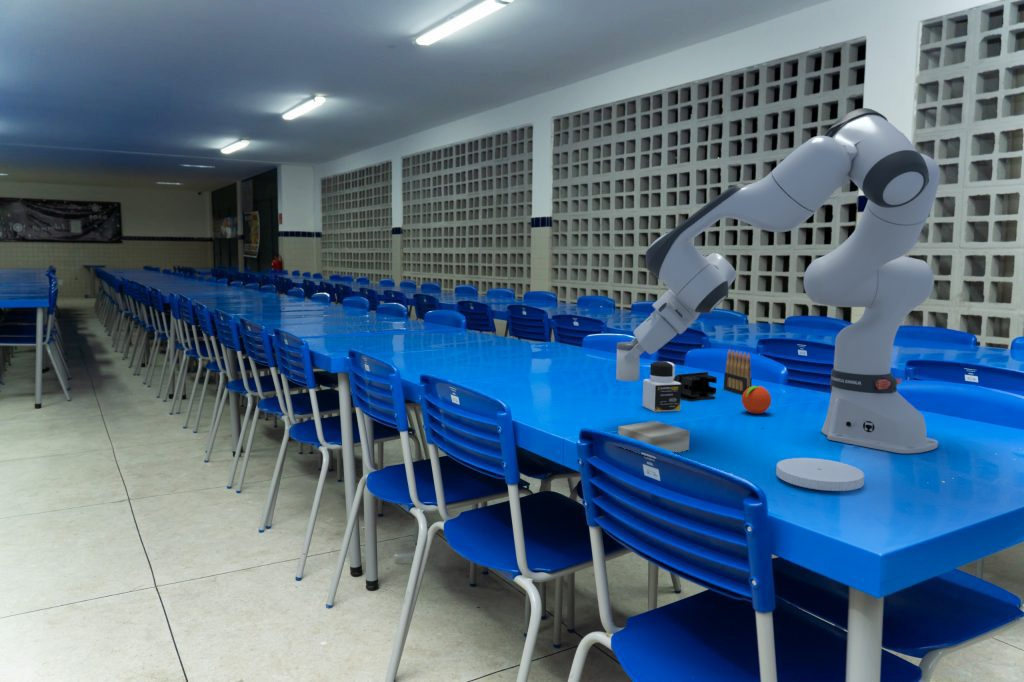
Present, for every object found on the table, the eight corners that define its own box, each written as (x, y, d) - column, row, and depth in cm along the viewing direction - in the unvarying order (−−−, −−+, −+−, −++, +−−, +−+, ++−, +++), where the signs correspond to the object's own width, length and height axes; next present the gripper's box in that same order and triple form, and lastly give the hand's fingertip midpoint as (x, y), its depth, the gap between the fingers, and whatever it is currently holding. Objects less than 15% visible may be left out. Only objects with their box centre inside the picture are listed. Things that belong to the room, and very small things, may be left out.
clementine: (758, 418, 174) (759, 389, 173) (732, 413, 179) (734, 385, 179) (776, 414, 179) (777, 385, 178) (751, 409, 184) (752, 381, 184)
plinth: (688, 450, 145) (689, 430, 145) (651, 457, 140) (652, 437, 139) (654, 439, 154) (654, 420, 153) (617, 445, 148) (618, 426, 148)
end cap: (699, 394, 204) (700, 370, 203) (717, 398, 198) (718, 374, 197) (671, 397, 200) (672, 372, 199) (688, 401, 193) (689, 376, 193)
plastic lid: (766, 486, 124) (767, 472, 124) (786, 466, 136) (787, 453, 135) (856, 502, 116) (857, 487, 116) (868, 480, 128) (869, 466, 128)
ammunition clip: (723, 389, 211) (724, 348, 210) (728, 389, 212) (730, 348, 210) (745, 396, 201) (747, 353, 200) (751, 396, 202) (753, 353, 200)
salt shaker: (643, 379, 161) (644, 344, 160) (626, 381, 159) (627, 345, 158) (628, 376, 165) (629, 341, 164) (611, 378, 163) (612, 342, 162)
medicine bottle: (654, 412, 180) (656, 364, 178) (642, 406, 187) (643, 360, 185) (680, 410, 182) (682, 363, 180) (667, 405, 189) (668, 359, 187)
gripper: (656, 300, 169) (613, 341, 172) (666, 308, 149) (617, 354, 151) (675, 319, 170) (632, 360, 172) (688, 330, 149) (638, 375, 152)
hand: (625, 357), depth 161 cm, fingers closed on salt shaker, 5 cm apart
